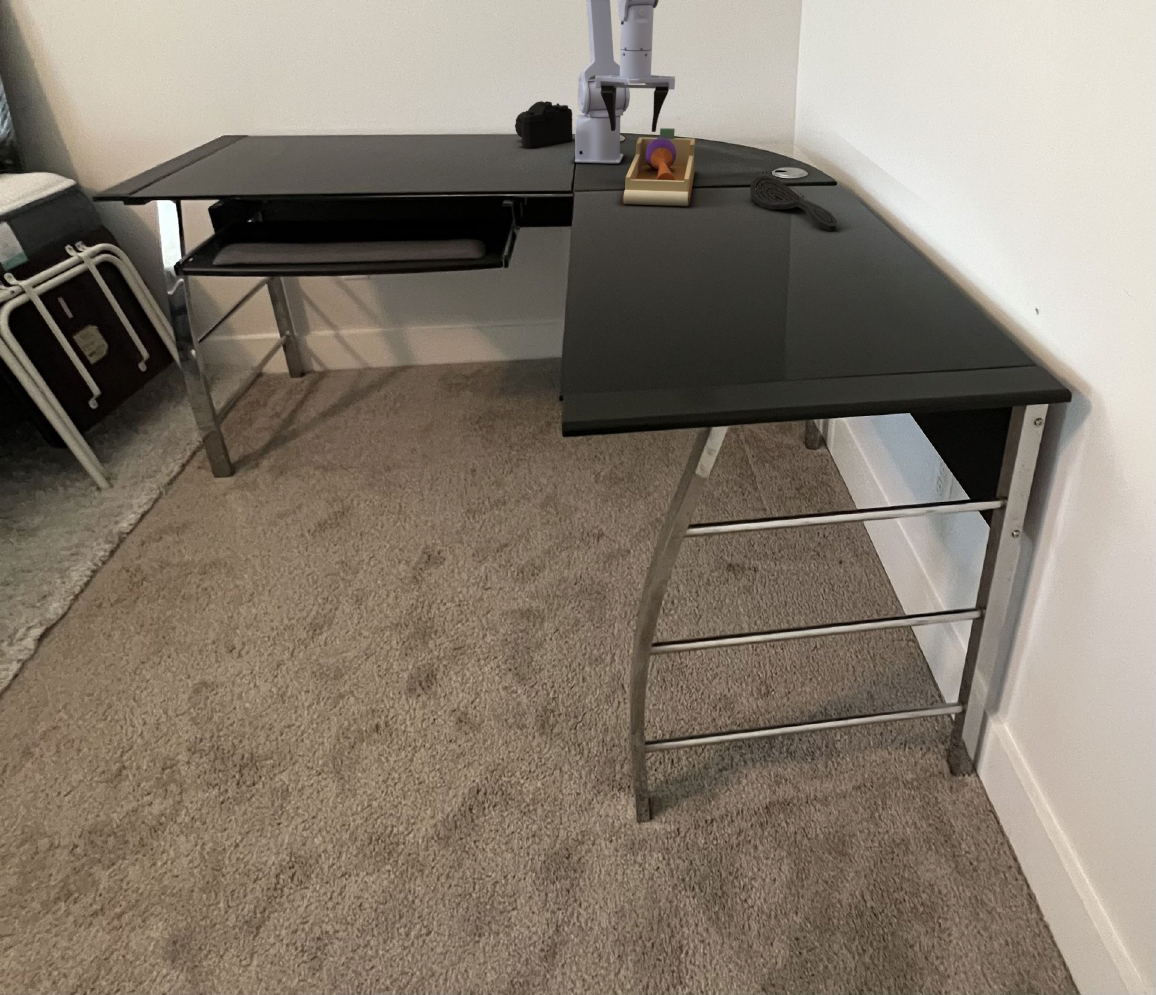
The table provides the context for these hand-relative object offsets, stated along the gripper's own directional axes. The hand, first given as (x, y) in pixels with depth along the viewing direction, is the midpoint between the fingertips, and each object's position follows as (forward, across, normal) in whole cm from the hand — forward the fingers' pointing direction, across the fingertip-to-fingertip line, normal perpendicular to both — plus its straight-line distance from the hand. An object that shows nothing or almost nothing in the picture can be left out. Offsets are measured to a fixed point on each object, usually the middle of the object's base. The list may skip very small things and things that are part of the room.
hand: (633, 130), depth 159 cm
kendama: (+8, +6, -4) cm, 11 cm away
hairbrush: (+9, +30, -18) cm, 36 cm away
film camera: (+10, -25, +36) cm, 44 cm away
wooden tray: (+9, +6, -4) cm, 12 cm away
